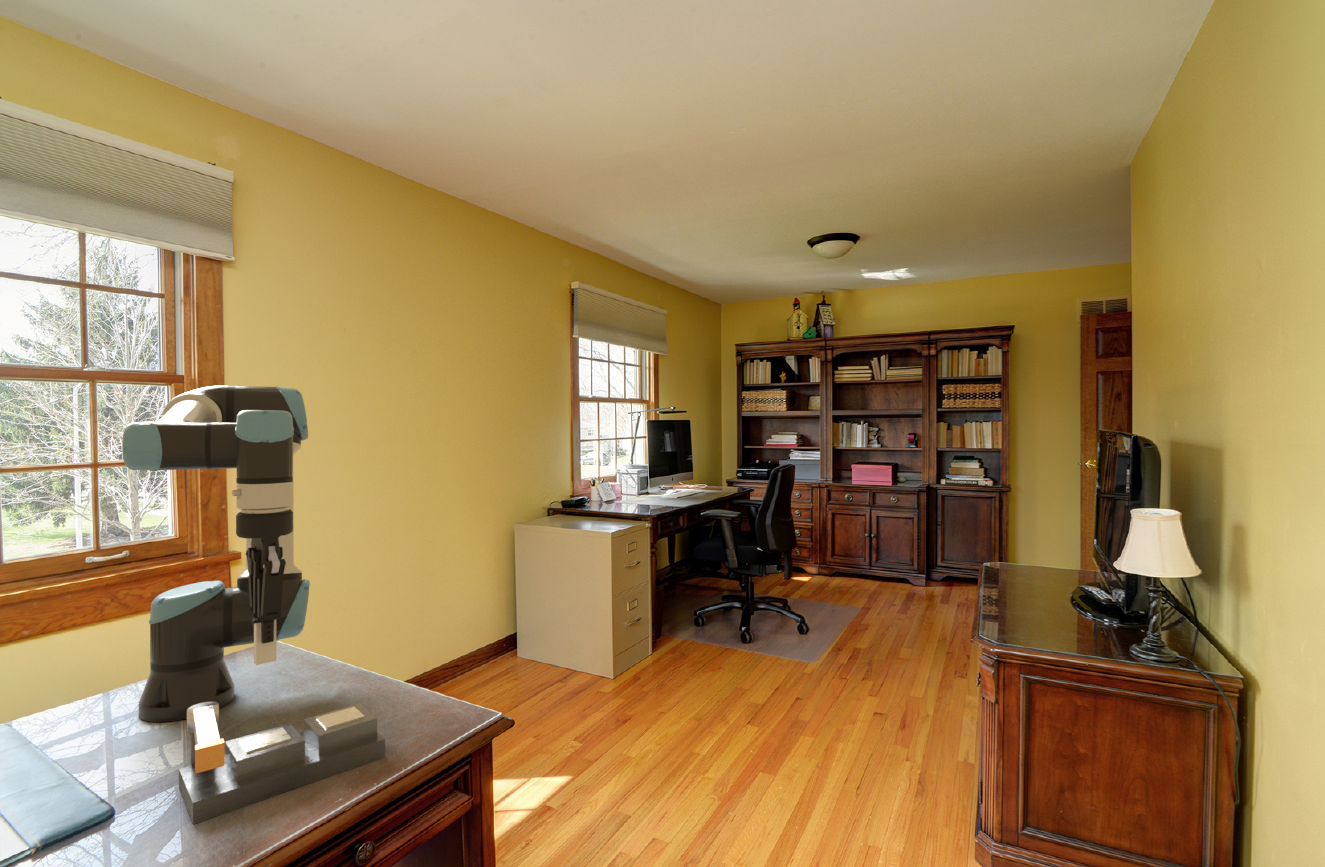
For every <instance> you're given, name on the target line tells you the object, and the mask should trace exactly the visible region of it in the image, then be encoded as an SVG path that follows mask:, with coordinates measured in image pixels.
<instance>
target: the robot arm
mask: <svg viewBox="0 0 1325 867" xmlns="http://www.w3.org/2000/svg"><path fill="white" fill-rule="evenodd" d="M308 429H309V428H308V419H307V412H306V406H305V402H304V397H303V394H302V392H300V391H299V390H298V389H296V388H292V387H280V386H277V385H275V386H251V385H250V386H246V385H245V386H243V385H242V386H240V385H227V384H226V385H221V384H220V385H212V386H204V387H200V388H199V387H198V388H196V389H192V390H190V391H185V392H183V393H181V394H178V395H177V396H175V397H173V398H172V399H171V400H170V401H169V402H167V404H166V405H165V407H164V409H163V412H162V417H161V418H160V419H159V420H158V421H150V420H147V421H145V422H143V421H142V422H140V421H139V422H131V423H128V424H127V425H126V426H125V428H124V430H123V434H122V443H121V444H122V447H121V448H122V457H123V463H124V465H125V467H126V468H127V469H129V470H132V471H150V472H158V471H175V470H176V471H178V470H180V471H181V470H221V469H223V470H225V469H227V470H228V469H236V477H235V479H236V480H235V481H236V489H233V490H232V491H231V495H232V496H233V497H236V509H238V510H240V512H237V514H236V515H235V534H236V536H237V537H238V538H241V539H245V547H246V548H245V569H244V571H243V572H241V574H239V575H238V577H236V586H234V587H226V585H225V584H224V582H223V581H221V580H212V581H211V580H206V581H200V582H199V581H198V582H194V583H190V584H185V585H181V586H177V587H174V588H172V589H169V590H166V591H163V592H162V593H160V594H158V595H157V596H156V597H155V598H154V599H153V600H152V602H151V603H150V615H149V619H148V624H149V629H150V630H149V637H150V642H149V645H150V646H149V647H150V648H149V649H150V650H149V651H150V654H149V656H150V658H149V662H150V663H149V665H150V667H149V671H150V672H149V675H148V677H147V680H146V682H145V685H144V689H143V691H142V694H141V697H140V699H139V701H138V717H139V719H140V720H143V721H146V722H151V723H165V722H174V721H175V722H176V721H181V720H187V709H188V708H189V707H191V706H193V705H196V704H199V703H203V702H218V703H219V709H221V708H222V707H224V706H226V705H228V704H230V702H232V701H233V700H234V698H235V683H234V681H233V679H232V677H231V674H230V671H229V669H228V666H227V664H226V662H225V656H224V654H225V652H224V651H225V648H229V647H237V646H244V645H252V644H253V663H254V664H255V665H256V666H258V665H263V664H268V663H272V662H276V661H277V642H278V641H280V640H284V639H290V638H295V637H297V636H299V635H300V634H301V633H302V632H303V630H304V627H305V622H306V617H307V611H308V602H309V595H310V586H311V584H310V580H309V579H306V578H303V570H301V569H299V567H297V566H296V564H295V563H294V562H295V561H294V559H295V557H294V555H295V554H294V553H295V552H294V548H295V547H294V540H295V539H294V537H295V536H294V526H295V525H294V500H295V499H294V455H295V454H296V453H297V452H298V451H299V450H300V449H301V448H302V445H301V444H302V441H306V440H308V438H309V430H308Z"/></svg>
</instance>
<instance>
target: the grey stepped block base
mask: <svg viewBox="0 0 1325 867" xmlns="http://www.w3.org/2000/svg"><path fill="white" fill-rule="evenodd" d="M195 745H196V744H195V737H194V733H191V732H190V765H188V766H184V767H181V768H179V769H178V791H179V792H180V796H181V798H182V800H183V803H184V805H185V808H186V810H187V813H188V815H189V817H190V820H191V823H192V825H196V824H198V823H201V822H203V821H207V820H209V819H212V818H215V817H218V816H221V815H224V814H227V813H230V812H233V811H236V810H238V809H241V808H244V807H246V806H249V805H252V804H255V803H258V802H261V801H264V800H266V799H269V798H272V797H275V796H278V795H280V794H284V793H286V792H289V791H291V790H296V789H298V788H301V787H303V786H306V785H309V784H312V783H314V782H318V781H321V780H324V779H326V778H329V777H332V776H335V775H337V774H341V773H343V772H346V771H349V770H351V769H354V768H357V767H360V766H363V765H365V764H366V765H367V764H368V763H372V762H374V761H377V760H380V759H383V758H385V757H386V738H384V736H382V735H381V734H380V733H379V732H378V717H377V716H376V715H375V714H373V713H372V711H370V710H369V709H367V708H366V707H365V706H364V705H363V704H362V703H360V702H359V703H356V704H352V705H348V706H345V707H341V708H337V709H335V710H331V711H327V712H324V713H321V714H317V715H314V716H310V717H307V718H304V719H303V731H302V732H298V730H297V729H296V728H295V727H294V725H293V724H291V722H289V723H285V724H282V725H279V726H275V727H272V728H268V729H263V730H261V731H258V732H257V731H256V732H253V733H251V734H248V735H244V736H240V737H236V738H233V739H230V740H226V741H224V766H222V767H218V768H214V769H211V770H207V771H203V772H200V773H195Z"/></svg>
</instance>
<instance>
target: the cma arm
mask: <svg viewBox="0 0 1325 867" xmlns="http://www.w3.org/2000/svg"><path fill="white" fill-rule="evenodd" d="M219 709H220V708H219V703H218V702H203V703H199V704H196V705H193V706H191V707H189V708H188V709H187V719H186V731H187V733H190V734H191V733H194V737H195V744H196V745H195V773H200V772H203V771H207V770H211V769H214V768H218V767H222V766H224V755H225V740H224V738H220V734H219V733H220V732H219V729H218V726H219V721H220V712H219V711H220V710H219Z"/></svg>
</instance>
